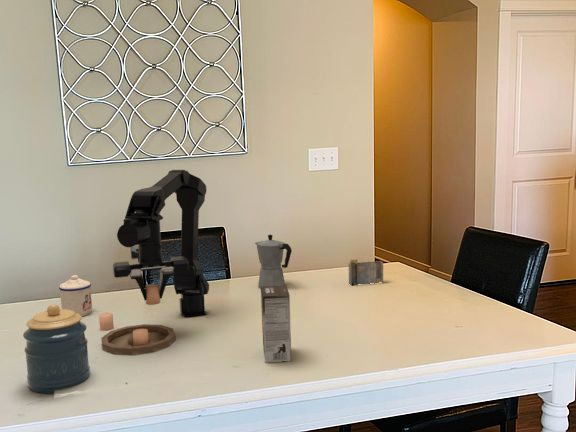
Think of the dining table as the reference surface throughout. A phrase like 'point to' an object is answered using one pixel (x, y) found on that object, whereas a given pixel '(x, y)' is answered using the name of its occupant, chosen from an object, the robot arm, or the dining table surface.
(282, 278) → the coffeepot
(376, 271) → the grey spool block
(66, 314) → the canister
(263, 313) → the coffee box
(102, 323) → the bead
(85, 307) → the white lidded jar
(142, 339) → the bead
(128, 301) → the dining table surface
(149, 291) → the bead
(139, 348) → the groove tray
